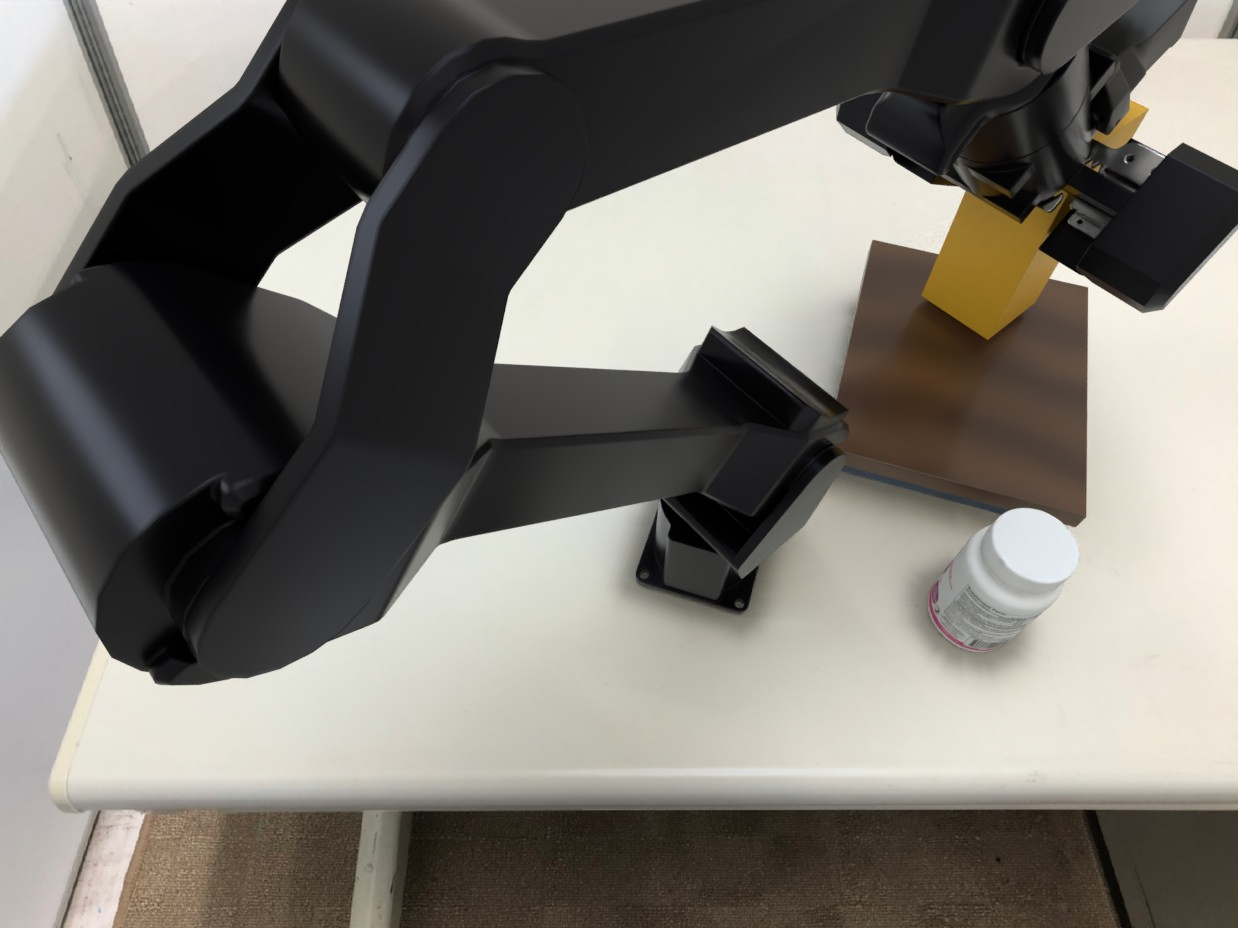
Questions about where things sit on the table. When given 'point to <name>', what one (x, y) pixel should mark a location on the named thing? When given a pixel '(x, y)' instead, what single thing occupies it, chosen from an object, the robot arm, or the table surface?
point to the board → (966, 394)
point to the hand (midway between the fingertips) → (1036, 202)
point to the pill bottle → (1003, 579)
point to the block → (1003, 253)
